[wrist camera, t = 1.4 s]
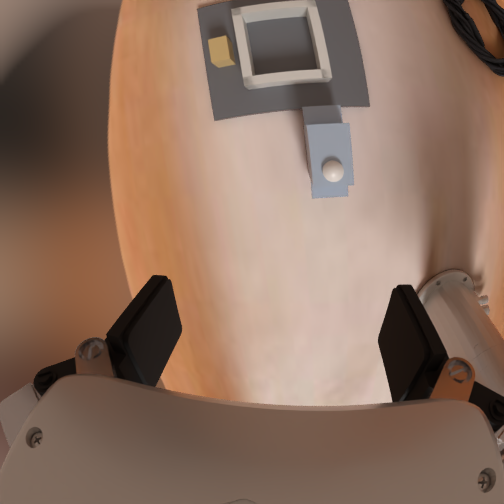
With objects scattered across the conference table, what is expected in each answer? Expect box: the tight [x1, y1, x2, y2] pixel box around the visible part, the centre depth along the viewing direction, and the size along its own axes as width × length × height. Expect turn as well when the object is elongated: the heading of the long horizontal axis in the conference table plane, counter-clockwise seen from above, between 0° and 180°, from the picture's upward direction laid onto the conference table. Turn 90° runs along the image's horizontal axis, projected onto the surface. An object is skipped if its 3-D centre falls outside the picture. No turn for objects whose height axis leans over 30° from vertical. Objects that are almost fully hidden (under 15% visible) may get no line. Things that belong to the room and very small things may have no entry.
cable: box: [443, 0, 504, 77], centre depth 13 cm, size 17×14×4 cm
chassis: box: [197, 0, 370, 121], centre depth 22 cm, size 18×16×4 cm
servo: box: [302, 105, 354, 199], centre depth 26 cm, size 4×10×7 cm, turn 8°
